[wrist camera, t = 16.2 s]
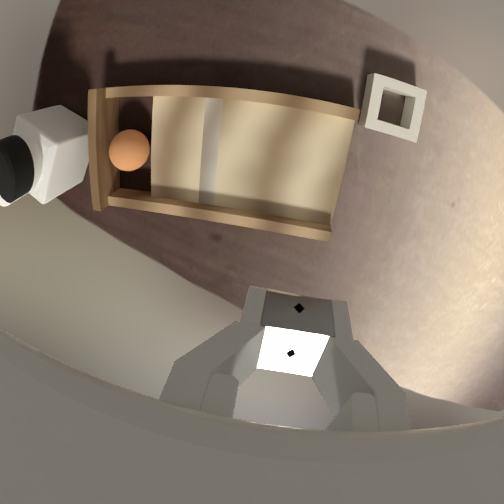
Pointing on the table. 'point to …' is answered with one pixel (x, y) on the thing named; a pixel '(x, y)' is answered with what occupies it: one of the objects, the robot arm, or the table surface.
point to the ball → (129, 150)
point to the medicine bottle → (43, 155)
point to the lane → (229, 156)
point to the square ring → (410, 110)
